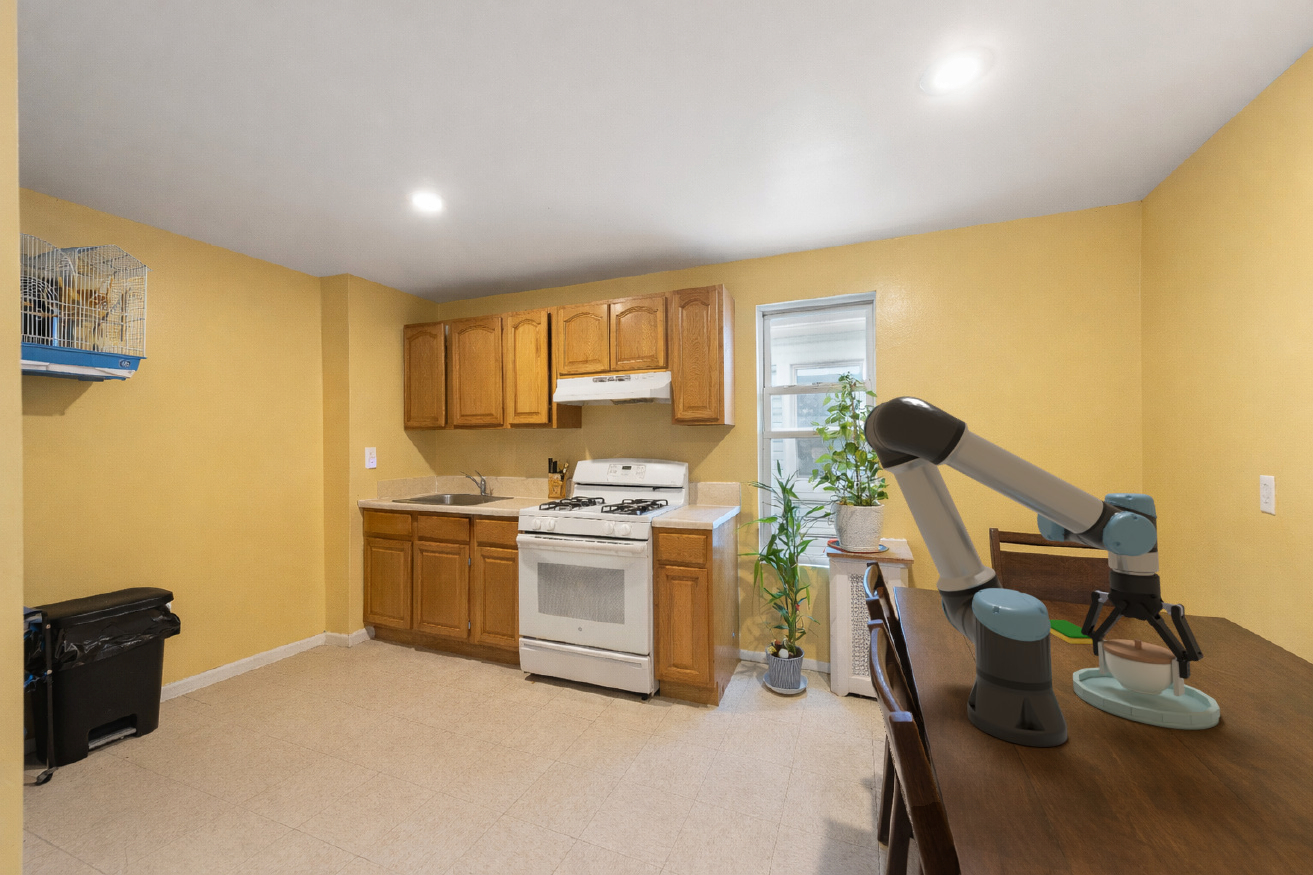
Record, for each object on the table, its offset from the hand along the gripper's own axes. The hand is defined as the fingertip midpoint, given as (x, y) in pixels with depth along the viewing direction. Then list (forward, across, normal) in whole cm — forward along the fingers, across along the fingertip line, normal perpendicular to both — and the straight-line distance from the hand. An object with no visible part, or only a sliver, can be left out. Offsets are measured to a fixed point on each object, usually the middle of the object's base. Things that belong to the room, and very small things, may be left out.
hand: (1140, 683), depth 104 cm
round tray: (+4, 0, 0) cm, 4 cm away
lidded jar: (+1, 0, 0) cm, 1 cm away
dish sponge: (+4, +26, -32) cm, 41 cm away
